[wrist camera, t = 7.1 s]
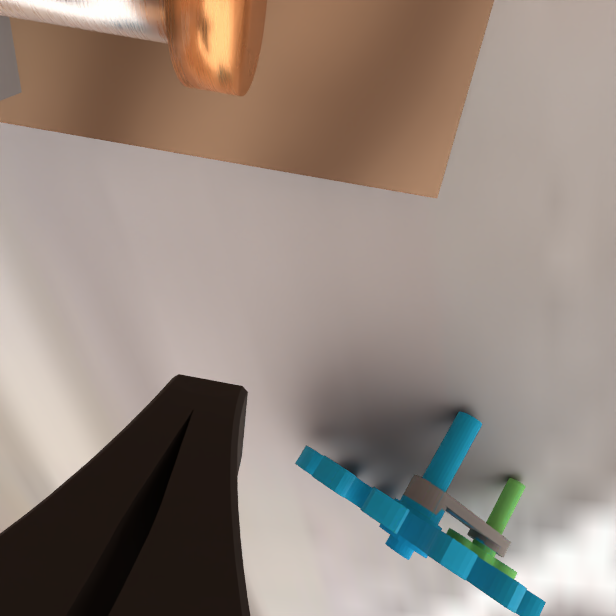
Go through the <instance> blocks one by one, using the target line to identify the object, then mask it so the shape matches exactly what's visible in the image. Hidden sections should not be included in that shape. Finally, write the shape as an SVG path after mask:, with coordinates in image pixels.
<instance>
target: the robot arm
mask: <svg viewBox="0 0 616 616" xmlns="http://www.w3.org/2000/svg"><path fill="white" fill-rule="evenodd" d="M247 394H248V392H247V391H246V390H245V389H244V387H243V386H239V385H233V384H228V383H223V382H217V381H212V380H207V379H201V378H196V377H190V376H185V375H180V374H179V375H177V376H175V377H173V378H172V379H171V381H170V382H169V383H168V384H167V385H166V386H165V387H164V388H163V389H162V390H161V391H160V393H159V394H158V395H157V396H156V397H155V398H154V399H153V400H152V401H151V402H150V403H149V404H148V405H147V406H146V407H145V408H144V409H143V410H142V411H141V412H140V413H139V414H138V415H137V416H136V417H135V418H134V419H133V420H132V421H131V422H130V423H129V424H128V425H127V426H126V427H125V428H124V429H123V430H122V431H121V432H120V433H119V434H118V435H117V436H116V437H115V438H114V439H113V440H112V441H110V442H109V443H108V444H107V445H106V446H105V447H104V448H103V449H102V450H101V451H100V452H99V453H98V454H97V455H96V456H94V457H93V458H92V459H91V460H90V461H89V462H88V463H87V464H86V465H84V466H83V467H82V468H81V469H80V470H79V471H77V472H76V473H75V474H74V475H73V476H71V477H70V478H69V479H68V480H67V481H66V482H64V483H63V484H62V485H61V486H60V487H59V488H57V489H56V490H55V491H54V492H53V493H52V494H50V495H49V496H48V497H47V498H46V499H44V500H43V501H42V502H41V503H39V504H38V505H37V506H36V507H34V508H33V509H32V510H31V511H29V512H28V513H27V514H25V515H24V516H23V517H22V518H20V519H19V520H18V521H16V522H15V523H14V524H12V525H11V526H10V527H8V528H7V529H6V530H4V531H3V532H2V533H0V616H250V611H249V605H248V598H247V591H246V583H245V575H244V568H243V559H242V549H241V539H240V526H239V512H238V491H237V476H238V471H239V466H240V462H241V457H242V448H243V437H244V426H245V416H246V405H247Z"/></svg>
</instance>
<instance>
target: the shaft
mask: <svg viewBox="0 0 616 616" xmlns="http://www.w3.org/2000/svg"><path fill="white" fill-rule="evenodd" d="M266 7H267V0H0V15H1V16H7V17H12V18H18V19H24V20H30V21H36V22H42V23H48V24H54V25H60V26H66V27H72V28H78V29H84V30H90V31H96V32H101V33H107V34H113V35H119V36H125V37H131V38H137V39H143V40H149V41H155V42H161V43H167V44H168V46H169V52H170V56H171V60H172V64H173V67H174V70H175V73H176V75H177V77H178V79H179V80H180V82H181V83H182V84H183V85H184V86H186V87H189V88H195V89H201V90H207V91H213V92H218V93H224V94H230V95H236V96H244V95H245V94H246V93H247V92H248V90H249V88H250V86H251V84H252V81H253V78H254V75H255V72H256V68H257V64H258V60H259V55H260V50H261V45H262V39H263V32H264V25H265V17H266Z"/></svg>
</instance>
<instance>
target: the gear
mask: <svg viewBox="0 0 616 616" xmlns="http://www.w3.org/2000/svg"><path fill="white" fill-rule="evenodd" d="M481 426H482V423H481V422H480V421H478V420H477V419H476V418H474V417H472V416H471V415H469V414H467V413H464V412H460V411H459V412H458V414H457V416H456V418H455V419H454V421H453V423H452V425H451V427H450V428H449V430H448V432H447V434H446V436H445V437H444V439H443V441H442V443H441V445H440V446H439V448H438V450H437V452H436V454H435V455H434V457H433V459H432V461H431V463H430V464H429V466H428V468H427V470H426V472H425V473H424V475H423V477H420V476H418V475H414V476H413V478H412V480H411V482H410V484H409V485H408V487H407V489H406V491H405V492H404V494H403V496H402V498H401V500H398V499H396V498H395V499H392V498H391V497H389V496H388V495H386V494H385V493H383V492H381V491H380V490H378V489H377V488H375V487H373V488H372V487H370V486H368V485H367V484H365V483H364V482H362V481H361V480H359V479H358V478H357V477H356V476H355V475H354V474H352V473H351V472H349V471H348V470H346V469H345V468H343V467H342V466H340V465H339V464H337V463H336V462H334V461H332V460H331V459H329V458H328V457H326V456H323V455H321V454H320V453H318V452H317V451H315V450H313V449H312V448H310V447H308V446H306V447H305V449H304V450H303V452H302V453H301V455H300V457H299V458H298V460H297V461H296V463H295V464H297V465H298V466H299V467H301V468H302V469H303V470H305V471H306V472H308V473H309V474H311V475H312V476H313V477H314V478H315V479H317V480H318V481H320V482H321V483H323V484H324V485H326V486H327V487H328V488H330V489H331V490H333V491H334V492H336V493H337V494H339V495H340V496H342V497H345V498H346V499H348V500H349V501H351V502H352V503H354V504H355V505H357V506H358V507H360V508H361V510H362V511H363V512H364V513H366V514H367V515H369V516H370V517H372V518H373V519H375V520H376V521H378V522H379V523H381V524H380V526H379V527H381V528H382V529H383V530H385V531H386V532H387V533H389V534H390V536H389V538H388V540H387V542H386V543H385V544H386V545H387V546H389V547H390V548H391V549H393V550H394V551H396V552H397V553H398V554H400V555H401V556H403V557H404V558H406V559H408V560H409V559H410V557H411V555H412V553H413V552H414V551H415V552H417V553H418V554H420V555H421V556H423V557H425V558H427V556H429V557H431V558H432V559H434V560H435V561H437V562H438V563H439V564H441V565H442V566H444V567H446V568H447V569H449V570H450V571H452V572H453V573H455V574H456V575H458V576H459V577H461V578H462V579H464V580H467V581H468V582H470V583H471V584H473V585H474V586H475V587H477V588H478V589H480V590H481V591H483V592H484V593H485V594H487V595H488V596H490V597H491V598H493V599H494V600H496V601H497V602H498V603H500V604H501V605H503V606H504V607H506V608H507V609H509V610H511V611H512V612H514V613H517V614H518V615H520V616H540V613H541V611H542V609H543V607H544V605H545V603H546V602H544V601H543V600H542V599H540V598H539V597H537V596H535V595H534V594H532V593H531V592H529V591H528V590H527V588H525V587H524V586H523V585H521V584H520V583H519V582H517V581H516V580H514V578H515V576H516V574H517V572H516V571H514V570H513V569H511V568H510V567H508V566H507V565H505V564H503V563H502V562H500V561H499V560H497V559H496V558H494V556H495V554H498V555H499V556H501V557H504V555H505V553H506V551H507V549H508V547H509V545H510V543H511V542H510V541H509V540H508V539H506V538H505V537H504V536H502V533H503V531H504V529H505V527H506V525H507V523H508V521H509V519H510V517H511V515H512V513H513V511H514V509H515V507H516V505H517V503H518V501H519V499H520V497H521V495H522V493H523V491H524V489H525V486H524V485H523V484H522V483H520V482H518V481H517V480H515V479H512V478H509V479H508V481H507V483H506V485H505V487H504V489H503V491H502V493H501V495H500V497H499V499H498V501H497V503H496V505H495V507H494V508H493V510H492V512H491V514H490V516H489V518H488V520H487V522H486V523H485V522H484V521H483V520H481V519H480V518H479V517H477V516H476V515H475V514H474V513H472V512H471V511H470V510H468V509H467V508H466V507H464V506H463V505H462V504H460V503H459V502H458V501H456V500H455V499H454V498H453V497H451V496H450V495H449V494H447V493H446V491H447V489H448V487H449V485H450V483H451V481H452V479H453V478H454V476H455V474H456V472H457V470H458V468H459V467H460V465H461V463H462V461H463V459H464V457H465V455H466V454H467V452H468V450H469V448H470V446H471V444H472V443H473V441H474V439H475V437H476V435H477V433H478V431H479V430H480V428H481ZM445 511H447V512H448V513H449V514H451V515H452V516H453V517H455V518H456V519H458V520H459V521H460V522H462V523H463V524H464V525H466V526H467V527H468V528H470V530H469V532H468V534H467V535H468V536H470V537H471V538H473V539H474V540H473V542H471V541H469V540H468V539H466V538H465V537H463V536H462V535H460V534H459V533H457V532H456V531H454V530H452V529H450V528H449V530H448V531H447V533H446V534H445V533H444V532H442V531H441V530H442V528H441V527H439V526H438V524H439V522H440V520H441V518H442V516H443V514H444V512H445Z"/></svg>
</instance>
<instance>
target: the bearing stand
mask: <svg viewBox="0 0 616 616" xmlns="http://www.w3.org/2000/svg"><path fill="white" fill-rule="evenodd" d="M493 2H494V0H267V7H266V17H265V25H264V32H263V39H262V45H261V50H260V55H259V60H258V64H257V68H256V72H255V75H254V78H253V81H252V84H251V86H250V88H249V90H248V92H247V93H246V94H245V95H244V96H236V95H230V94H224V93H218V92H213V91H207V90H201V89H195V88H189V87H186V86H184V85H183V84H182V83H181V82H180V80H179V79H178V77H177V75H176V73H175V70H174V67H173V64H172V60H171V56H170V52H169V46H168V44H167V43H161V42H155V41H149V40H143V39H137V38H131V37H125V36H119V35H113V34H107V33H101V32H96V31H90V30H84V29H78V28H72V27H66V26H60V25H54V24H48V23H42V22H36V21H30V20H24V19H18V18H12V17H7V16H1V15H0V122H3V123H8V124H14V125H20V126H26V127H31V128H37V129H43V130H48V131H54V132H60V133H66V134H71V135H77V136H83V137H89V138H94V139H100V140H106V141H111V142H117V143H123V144H129V145H134V146H140V147H146V148H152V149H157V150H163V151H169V152H174V153H180V154H186V155H192V156H197V157H203V158H209V159H215V160H220V161H226V162H232V163H237V164H243V165H249V166H255V167H260V168H266V169H272V170H278V171H283V172H289V173H295V174H300V175H306V176H312V177H318V178H323V179H329V180H335V181H341V182H346V183H352V184H358V185H363V186H369V187H375V188H381V189H386V190H392V191H398V192H404V193H409V194H415V195H421V196H426V197H432V198H437V197H438V193H439V190H440V187H441V183H442V180H443V176H444V173H445V169H446V166H447V162H448V159H449V155H450V152H451V148H452V145H453V141H454V138H455V134H456V131H457V127H458V124H459V120H460V117H461V114H462V110H463V107H464V103H465V100H466V96H467V93H468V89H469V86H470V82H471V79H472V75H473V72H474V68H475V65H476V61H477V58H478V54H479V51H480V48H481V44H482V41H483V37H484V34H485V30H486V27H487V23H488V20H489V16H490V13H491V9H492V6H493Z"/></svg>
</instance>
